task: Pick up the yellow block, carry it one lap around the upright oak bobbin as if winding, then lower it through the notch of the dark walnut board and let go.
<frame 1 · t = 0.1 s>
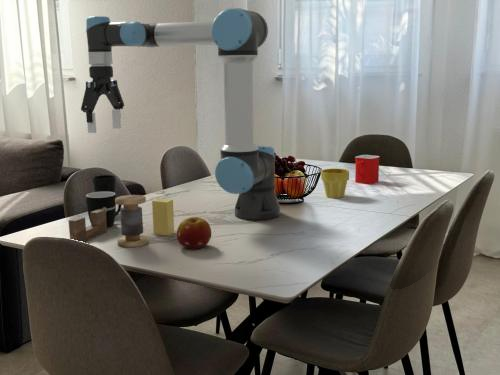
hand: (105, 130, 201), 28 cm above the table, fingers open, 13 cm apart
bobbin: (132, 243, 171), on the table
plant pot: (334, 196, 226), on the table
mug: (106, 225, 190), on the table
notched board: (89, 237, 176), on the table
cup: (106, 211, 208), on the table
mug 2: (364, 183, 250), on the table
yellow block: (164, 233, 180), on the table
fruit: (194, 247, 167), on the table
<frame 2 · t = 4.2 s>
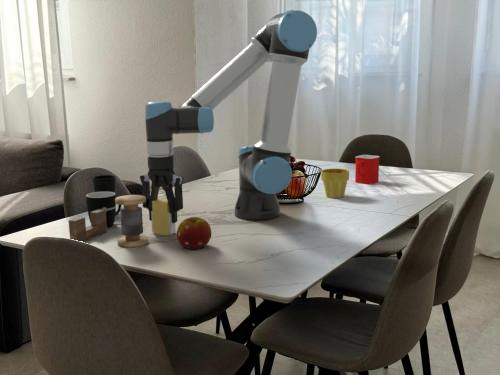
hand: (163, 232, 180), 0 cm above the table, fingers closed on yellow block, 5 cm apart
yellow block: (164, 233, 180), on the table, touching gripper
everything else where it was.
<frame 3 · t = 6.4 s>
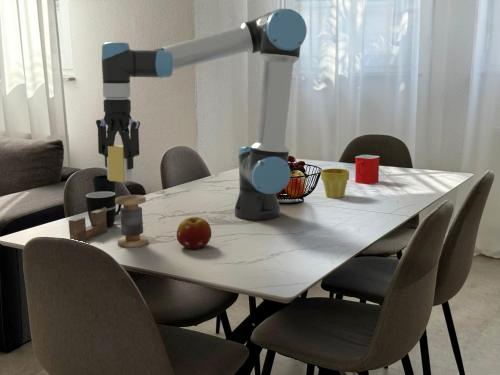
hand: (119, 179, 175), 17 cm above the table, fingers closed on yellow block, 5 cm apart
yellow block: (119, 180, 175), point 17 cm above the table, touching gripper
everything else where it was.
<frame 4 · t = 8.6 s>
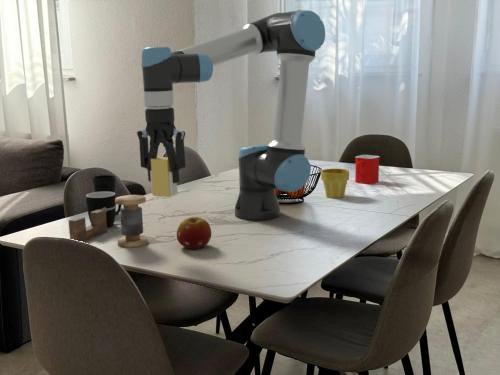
hand: (164, 193, 163), 15 cm above the table, fingers closed on yellow block, 5 cm apart
yellow block: (164, 194, 163), point 15 cm above the table, touching gripper
everything else where it was.
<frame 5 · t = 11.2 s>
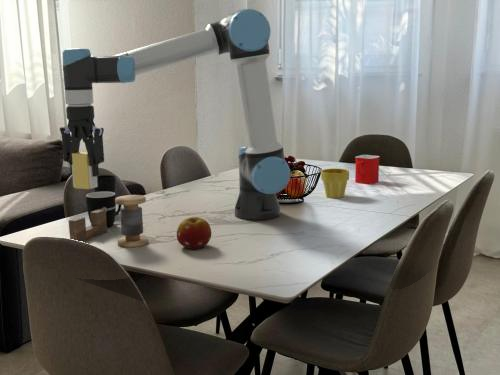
hand: (85, 186, 173), 15 cm above the table, fingers closed on yellow block, 5 cm apart
yellow block: (85, 187, 173), point 15 cm above the table, touching gripper
everything else where it was.
when the fingers open (5 cm above the table, at t = 13.3 s): yellow block drops 2 cm, resting on notched board.
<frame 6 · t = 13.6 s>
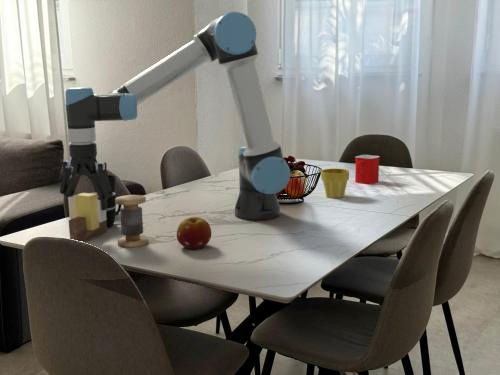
hand: (88, 219, 175), 6 cm above the table, fingers open, 9 cm apart
yellow block: (88, 228, 176), point 3 cm above the table, touching notched board
everything else where it was.
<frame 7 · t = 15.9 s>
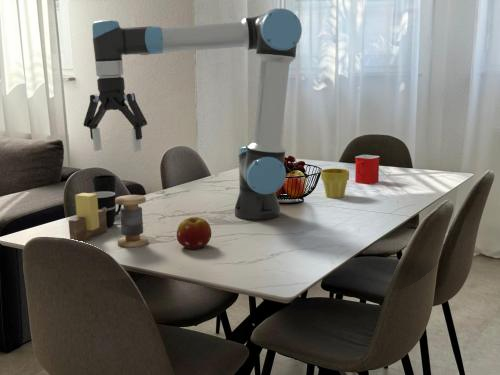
hand: (117, 150, 177), 25 cm above the table, fingers open, 13 cm apart
nothing on the table moved.
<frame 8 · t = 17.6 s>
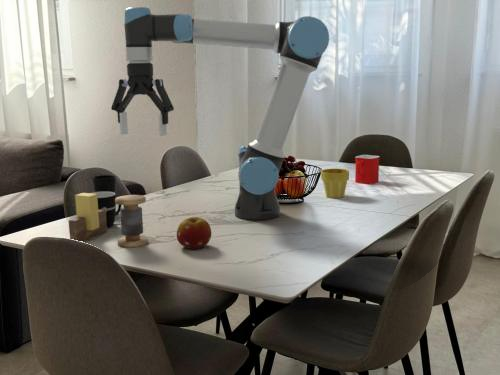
hand: (143, 134, 181), 29 cm above the table, fingers open, 13 cm apart
nothing on the table moved.
at the end: yellow block 0.1 cm off-centre on the notched board, point 3.0 cm above the notched board's base; yellow block tilted 0°; the gripper is holding nothing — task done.
